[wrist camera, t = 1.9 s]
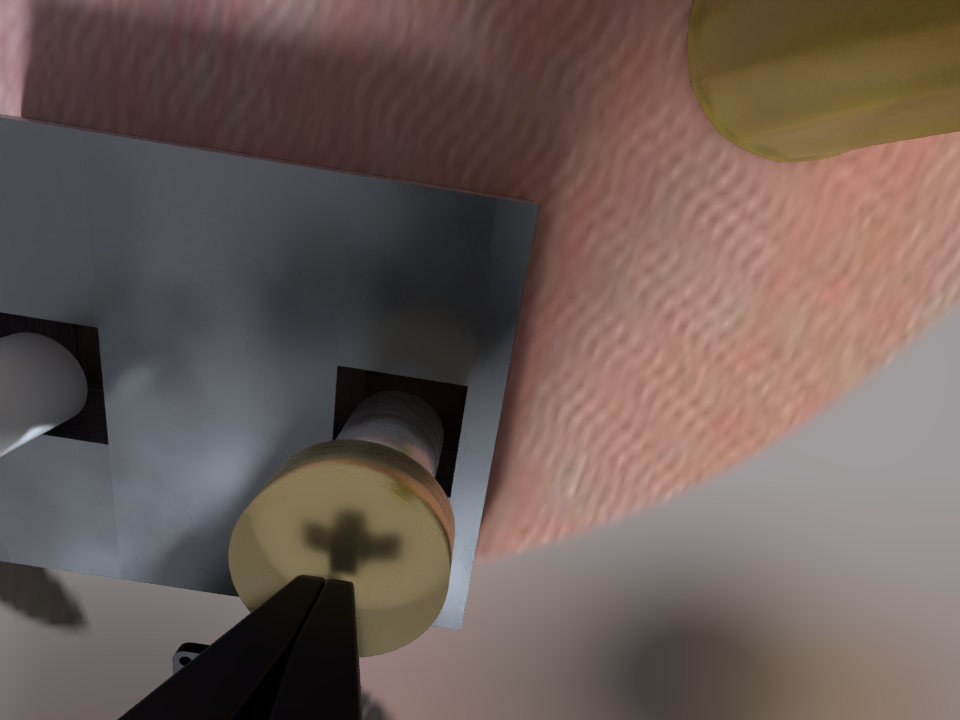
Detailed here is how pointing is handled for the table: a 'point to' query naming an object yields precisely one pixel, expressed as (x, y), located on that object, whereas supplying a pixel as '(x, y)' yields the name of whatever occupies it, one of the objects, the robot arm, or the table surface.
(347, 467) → the knob brass
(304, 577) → the robot arm
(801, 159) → the vase
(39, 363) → the knob ivory
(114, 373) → the mount
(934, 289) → the table surface
